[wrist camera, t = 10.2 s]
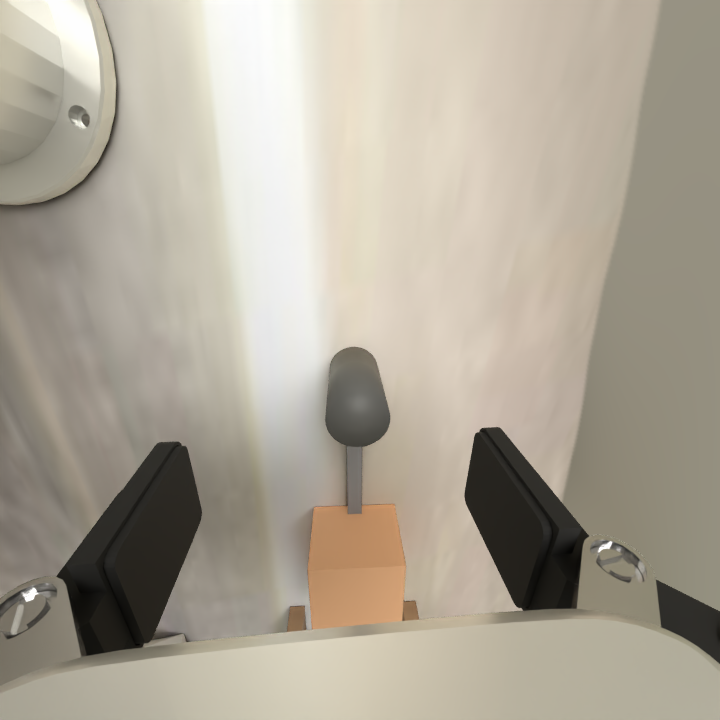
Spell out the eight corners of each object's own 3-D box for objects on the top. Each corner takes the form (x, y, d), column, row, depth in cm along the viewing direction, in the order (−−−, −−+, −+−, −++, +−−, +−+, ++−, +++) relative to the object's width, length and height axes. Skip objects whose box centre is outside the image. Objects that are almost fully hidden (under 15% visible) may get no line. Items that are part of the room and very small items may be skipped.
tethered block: (304, 347, 21) (290, 392, 15) (402, 346, 21) (424, 389, 15) (317, 564, 27) (311, 651, 22) (391, 561, 27) (403, 646, 22)
